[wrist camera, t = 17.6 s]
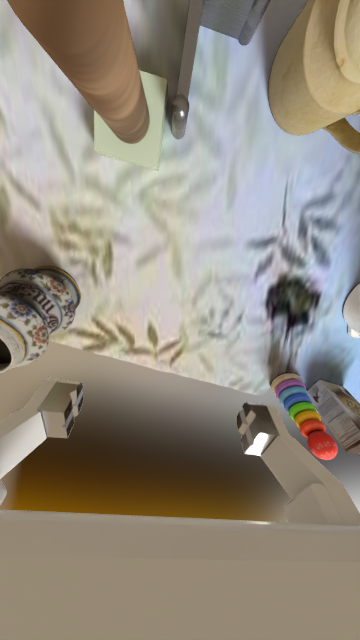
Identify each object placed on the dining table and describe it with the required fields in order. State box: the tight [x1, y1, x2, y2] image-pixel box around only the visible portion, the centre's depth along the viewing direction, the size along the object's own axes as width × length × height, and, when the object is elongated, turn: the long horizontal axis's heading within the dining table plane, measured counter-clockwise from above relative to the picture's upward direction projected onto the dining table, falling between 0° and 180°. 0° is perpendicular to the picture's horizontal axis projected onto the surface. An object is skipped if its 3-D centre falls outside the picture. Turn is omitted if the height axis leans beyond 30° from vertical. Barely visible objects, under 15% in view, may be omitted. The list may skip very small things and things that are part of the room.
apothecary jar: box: [0, 266, 81, 373], centre depth 31 cm, size 12×12×18 cm
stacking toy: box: [271, 373, 338, 460], centre depth 46 cm, size 8×8×19 cm
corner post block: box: [172, 0, 270, 139], centre depth 22 cm, size 8×12×8 cm, turn 168°
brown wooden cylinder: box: [7, 0, 150, 144], centre depth 16 cm, size 5×5×18 cm
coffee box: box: [307, 380, 360, 455], centre depth 50 cm, size 9×6×16 cm
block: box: [94, 70, 168, 171], centre depth 25 cm, size 8×8×4 cm
